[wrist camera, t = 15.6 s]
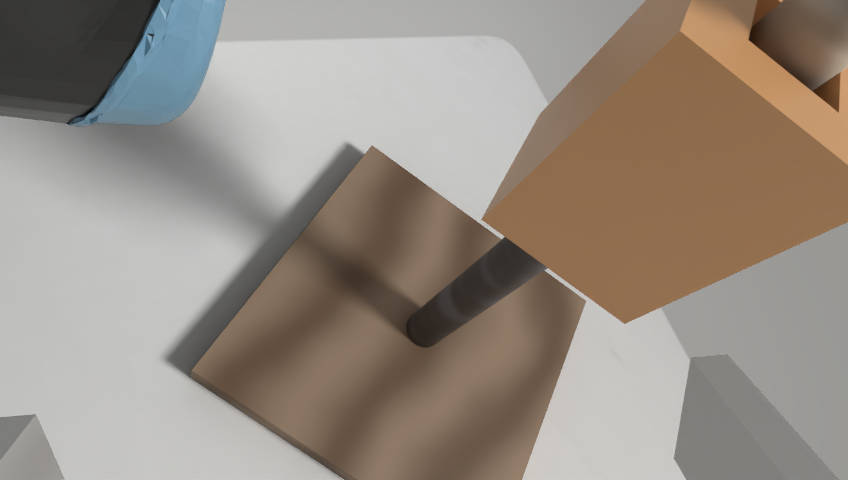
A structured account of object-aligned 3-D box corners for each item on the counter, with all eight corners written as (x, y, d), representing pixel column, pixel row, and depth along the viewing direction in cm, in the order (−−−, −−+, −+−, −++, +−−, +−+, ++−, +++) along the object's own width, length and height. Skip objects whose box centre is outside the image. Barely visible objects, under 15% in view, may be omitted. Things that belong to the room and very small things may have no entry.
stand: (189, 376, 32) (555, -823, 4) (365, 156, 44) (782, -558, 16) (477, 566, 34) (2125, 670, 6) (574, 307, 46) (1288, -82, 17)
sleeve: (481, 219, 22) (679, 30, 14) (539, 114, 26) (720, -80, 18) (624, 323, 23) (893, 201, 15) (660, 205, 27) (886, 58, 19)
